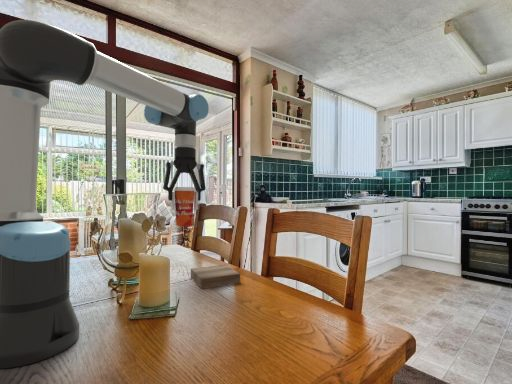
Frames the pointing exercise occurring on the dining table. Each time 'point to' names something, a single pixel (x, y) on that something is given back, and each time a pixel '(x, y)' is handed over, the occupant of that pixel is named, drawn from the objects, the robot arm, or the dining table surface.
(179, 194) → the paper cup
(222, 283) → the walnut plinth
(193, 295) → the dining table surface
